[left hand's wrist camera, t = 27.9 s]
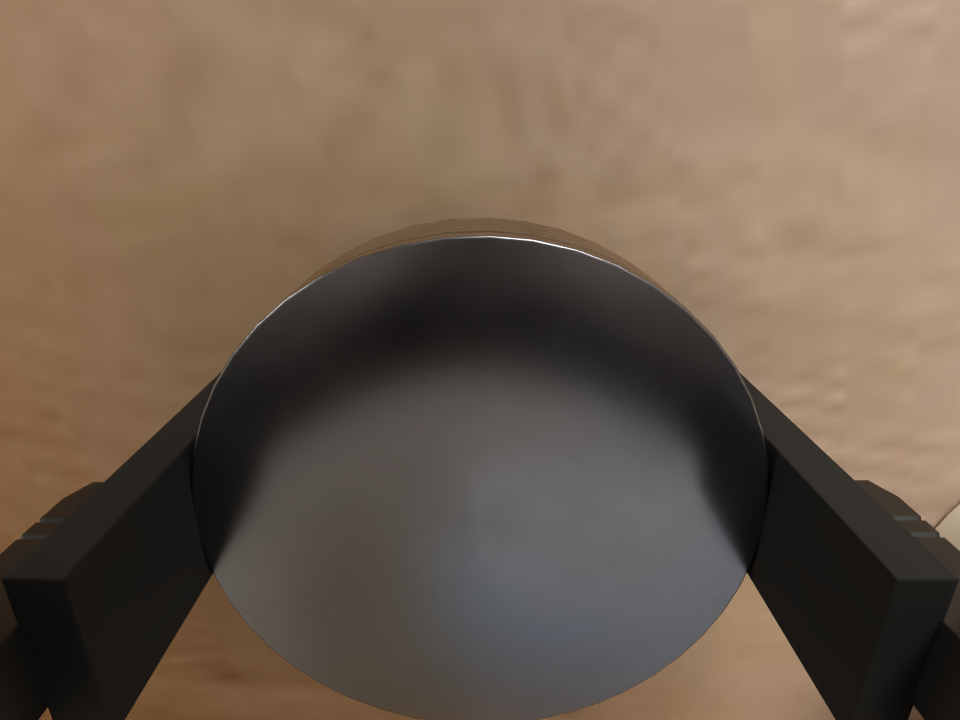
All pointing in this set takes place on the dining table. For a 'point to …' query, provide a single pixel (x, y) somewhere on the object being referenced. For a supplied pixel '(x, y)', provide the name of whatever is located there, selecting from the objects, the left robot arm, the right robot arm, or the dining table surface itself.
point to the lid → (480, 474)
